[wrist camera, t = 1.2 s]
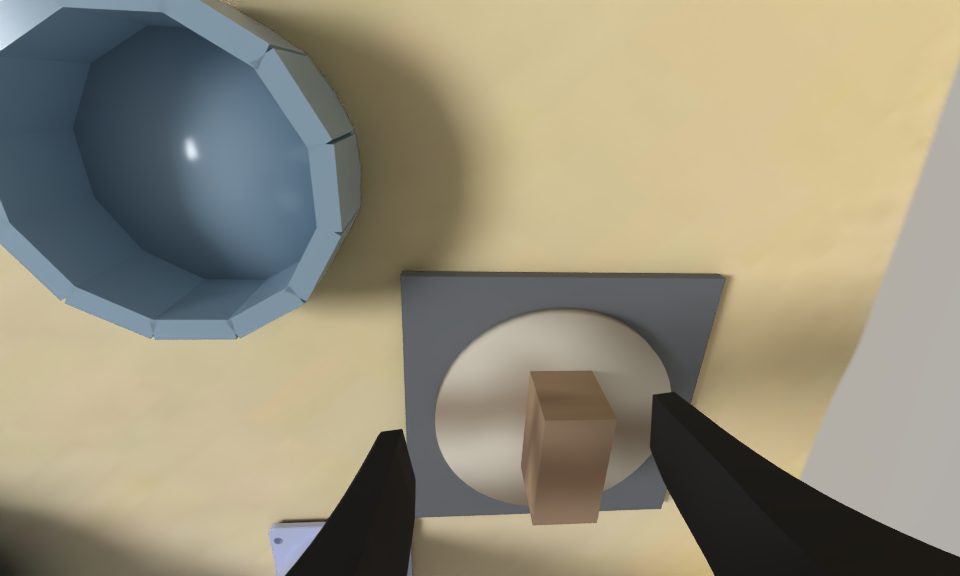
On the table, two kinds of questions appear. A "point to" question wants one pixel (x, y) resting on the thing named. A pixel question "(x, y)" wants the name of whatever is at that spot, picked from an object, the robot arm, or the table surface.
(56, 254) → the bowl
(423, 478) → the mat
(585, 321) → the lid
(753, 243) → the table surface
